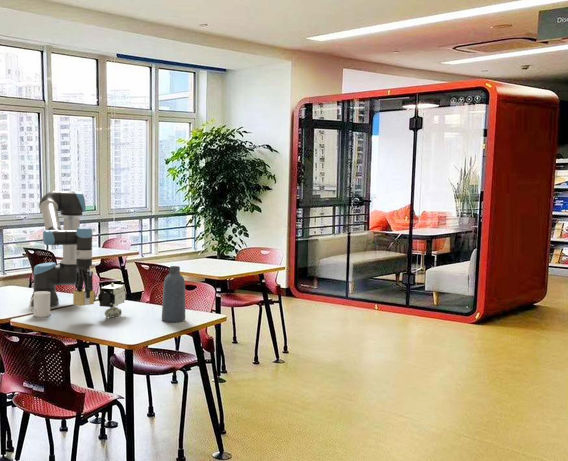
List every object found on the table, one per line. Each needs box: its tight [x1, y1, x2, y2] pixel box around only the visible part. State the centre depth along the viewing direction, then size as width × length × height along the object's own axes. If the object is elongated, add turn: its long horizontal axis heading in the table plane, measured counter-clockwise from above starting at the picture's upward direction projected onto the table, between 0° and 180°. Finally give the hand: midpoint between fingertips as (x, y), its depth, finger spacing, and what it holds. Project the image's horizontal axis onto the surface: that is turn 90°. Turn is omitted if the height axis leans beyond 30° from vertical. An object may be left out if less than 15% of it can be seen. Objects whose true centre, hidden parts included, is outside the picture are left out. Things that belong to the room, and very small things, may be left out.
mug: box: [29, 291, 51, 318], centre depth 321 cm, size 12×8×12 cm
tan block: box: [72, 288, 97, 307], centre depth 313 cm, size 6×10×7 cm, turn 136°
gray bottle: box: [161, 265, 186, 323], centre depth 322 cm, size 12×12×28 cm
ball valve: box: [97, 282, 127, 319], centre depth 326 cm, size 18×8×18 cm, turn 168°
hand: (83, 303), depth 313 cm, fingers closed on tan block, 6 cm apart
